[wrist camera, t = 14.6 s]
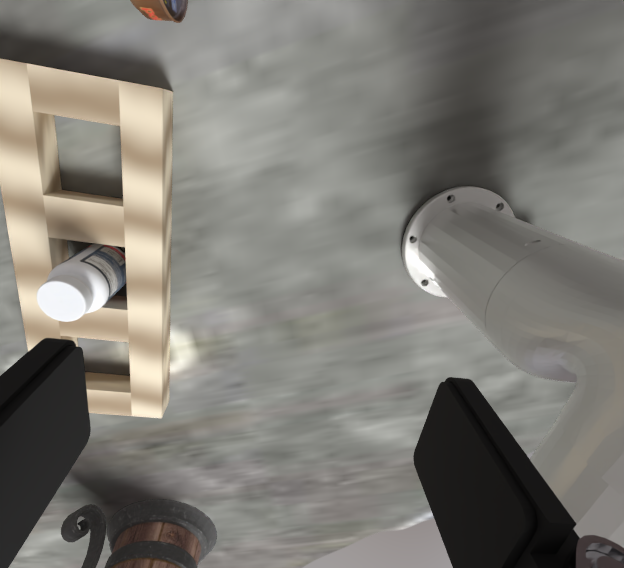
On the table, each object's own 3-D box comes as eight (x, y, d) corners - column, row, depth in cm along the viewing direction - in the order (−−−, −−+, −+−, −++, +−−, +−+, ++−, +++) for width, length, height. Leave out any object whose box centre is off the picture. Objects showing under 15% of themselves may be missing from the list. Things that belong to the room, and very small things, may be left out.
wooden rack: (5, 60, 31) (-22, 54, 28) (172, 91, 33) (162, 88, 30) (53, 391, 45) (38, 408, 42) (169, 401, 47) (161, 418, 44)
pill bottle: (88, 288, 40) (38, 330, 32) (75, 243, 38) (17, 275, 30) (137, 286, 40) (99, 327, 32) (126, 241, 38) (83, 272, 30)
